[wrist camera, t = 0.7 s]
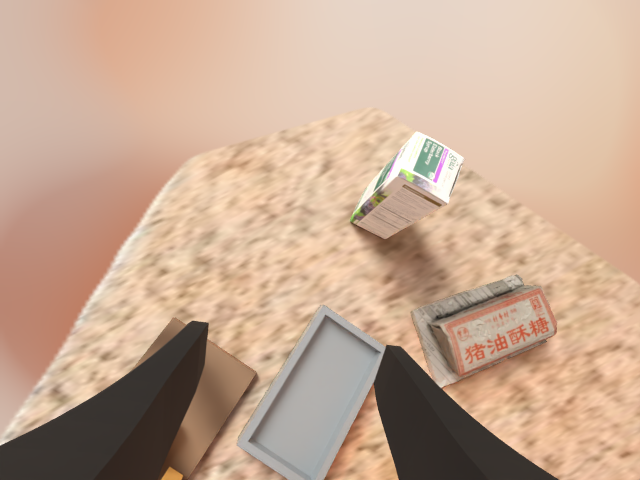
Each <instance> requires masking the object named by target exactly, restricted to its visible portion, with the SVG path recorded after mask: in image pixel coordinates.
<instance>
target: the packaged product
mask: <svg viewBox="0 0 640 480" xmlns="http://www.w3.org/2000/svg"><path fill="white" fill-rule="evenodd" d="M411 316H412V319H413V322H414V325H415V328H416V331H417V334H418V337H419V340H420V343H421V346H422V349H423V353H424V356H425V359H426V362H427V365H428V368H429V371H430V373H431V376H432V378H433V380H434V382H435V383H436V384H437V385H438V386H439V387H440V388H442V387H444V386H447V385H449V384H453V383H455V382H457V381H459V380H461V379H463V378H465V377H467V376H470V375H472V374H475V373H477V372H479V371H482V370H484V369H486V368H488V367H491V366H493V365H496V364H498V363H500V362H502V361H503V360H505V359H506V358H508V359H509V358H511V357H513V356H516V355H518V354H520V353H522V352H524V351H527V350H529V349H532V348H534V347H536V346H538V345H541V344H543V343H545V342H547V341H546V339H547V338H550V337H552V336H554V335H555V334H556V333H557V327H556V325H557V321H556V319H555V318H554V315H553V313H552V311H551V309H550V306H549V303H548V300H547V298H546V296H545V294H544V292H543V289H542V288H541V286H536V285H535V286H528V285H526V286H524V284H523V281H522V278H521V277H520V276H518V275H513V276H509V277H507V278H505V279H502V280H500V281H497V282H493V283H490V284H487V285H483V286H480V287H477V288H474V289H471V290H468V291H465V292H461V293H458V294H455V295H452V296H450V297H447V298H444V299H441V300H438V301H435V302H432V303H430V304H427V305H424V306H421V307H419V308H417V309H415V310H413V311H411Z"/></svg>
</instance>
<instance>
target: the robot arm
mask: <svg viewBox="0 0 640 480" xmlns="http://www.w3.org/2000/svg"><path fill="white" fill-rule="evenodd" d="M208 325H209V323H206V322H198V321H191V322H190V323H188V324H187V325H186V326H185V327H184V328H183V329H182V330H181V331H180V332H179V333H178V334H176V335H175V336H174V337H173V338H172V339H171V340H170V341H168V342H167V343H166V344H165V345H164V346H163V347H161V348H160V349H159V350H158V351H157V352H155V353H154V354H153V355H152V356H150V357H149V358H148V359H147V360H145V361H144V362H143V363H141V364H140V365H139V366H137V367H136V368H135V369H133V370H132V371H131V372H129V373H128V374H127V375H125V376H124V377H122V378H121V379H120V380H118V381H117V382H115V383H114V384H112V385H111V386H109V387H108V388H106V389H105V390H103V391H101V392H100V393H98V394H97V395H95V396H94V397H92V398H90V399H89V400H87V401H85V402H83V403H82V404H80V405H78V406H77V407H75V408H73V409H71V410H69V411H68V412H66V413H64V414H62V415H61V416H59V417H57V418H55V419H53V420H51V421H49V422H48V423H46V424H44V425H42V426H40V427H38V428H36V429H34V430H32V431H30V432H28V433H26V434H24V435H22V436H20V437H17V438H15V439H13V440H11V441H9V442H7V443H5V444H3V445H1V446H0V480H158V477H159V475H160V472H161V469H162V467H163V464H164V462H165V459H166V457H167V454H168V452H169V450H170V448H171V446H172V443H173V441H174V439H175V437H176V435H177V432H178V430H179V428H180V426H181V424H182V421H183V419H184V417H185V415H186V413H187V410H188V408H189V406H190V404H191V402H192V399H193V397H194V395H195V393H196V390H197V387H198V384H199V381H200V378H201V375H202V372H203V369H204V365H205V356H206V346H207V335H208ZM374 388H375V395H376V400H377V406H378V410H379V414H380V417H381V420H382V424H383V427H384V431H385V434H386V437H387V440H388V444H389V447H390V450H391V454H392V457H393V460H394V463H395V467H396V470H397V474H398V478H399V480H558V479H557V478H555V477H554V476H552V475H551V474H549V473H547V472H546V471H544V470H543V469H541V468H540V467H538V466H537V465H535V464H534V463H532V462H531V461H529V460H528V459H526V458H525V457H523V456H522V455H521V454H519V453H518V452H516V451H515V450H514V449H512V448H511V447H510V446H508V445H507V444H505V443H504V442H503V441H501V440H500V439H499V438H497V437H496V436H495V435H494V434H492V433H491V432H490V431H488V430H487V429H486V428H485V427H484V426H482V425H481V424H480V423H479V422H478V421H476V420H475V419H474V418H473V417H471V416H470V415H469V414H468V413H467V412H466V411H465V410H464V409H462V408H461V407H460V406H459V405H458V404H457V403H456V402H455V401H454V400H453V399H452V398H451V397H450V396H448V395H447V394H446V393H445V392H444V391H443V390H442V389H441V388H440V387H439V386H438V385H437V384H436V383H435V382H434V381H433V380H432V379H431V378H430V377H429V375H428V374H427V373H426V372H425V371H424V370H423V369H422V368H421V367H420V366H419V365H418V364H417V363H416V362H415V361H414V360H413V359H412V358H411V357H410V356H409V355H408V354H407V352H406V351H405V350H403V349H402V348H401V347H399V346H391V345H386V348H385V351H384V354H383V357H382V360H381V363H380V366H379V369H378V371H377V374H376V377H375V380H374Z"/></svg>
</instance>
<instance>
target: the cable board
mask: <svg viewBox="0 0 640 480" xmlns="http://www.w3.org/2000/svg"><path fill="white" fill-rule="evenodd" d="M185 326H186V324H184V323H183V322H181V321H180V320H178V319H177V318H173V319H172V320H171V321H170V322H169V324H168V325H167V326H166V327H165V329H164V330H163V331H162V333H161V334H160V335H159V336H158V338H157V339H156V340H155V341H154V343H153V344H152V345H151V346H150V348H149V349H148V350H147V352H146V353H145V354H144V355H143V357H142V358H141V359H140V360H139V362H138V363H137V364H136V366H135V367H134V368H133V369H135V368H136V367H137V366H139V365H140V364H141V363H143V362H144V361H145V360H147V359H148V358H149V357H150V356H152V355H153V354H154V353H155V352H157V351H158V350H159V349H160V348H161V347H163V346H164V345H165V344H166V343H167V342H168V341H170V340H171V339H172V338H173V337H174V336H175V335H176V334H178V333H179V332H180V331H181V330H182V329H183V328H184V327H185ZM133 369H132V370H133ZM255 374H256V371H254V370H253V369H251V368H250V367H248V366H247V365H245V364H244V363H242V362H241V361H239V360H238V359H236V358H235V357H233V356H232V355H230V354H229V353H227V352H226V351H224V350H223V349H221V348H220V347H218V346H217V345H215V344H214V343H212V342H211V341H209V340H208V339H207V346H206V356H205V365H204V369H203V372H202V375H201V378H200V381H199V384H198V387H197V390H196V393H195V395H194V397H193V399H192V402H191V404H190V406H189V408H188V410H187V413H186V415H185V417H184V419H183V421H182V424H181V426H180V428H179V430H178V432H177V435H176V437H175V439H174V441H173V443H172V446H171V448H170V450H169V452H168V454H167V457H166V459H165V462H164V464H163V467H162V469H161V472H160V475H159V477H158V480H161V479H162V477H163V476H164V474H165V473H166V471H167V470H168V468H169V467H171V468H173V469H174V470H176V471H177V472H179V473H180V474H182V475H183V477H182V479H181V480H188V478H189V476H190V475H191V473H192V472H193V470H194V469H195V467H196V466H197V464H198V463H199V461H200V459H201V458H202V456H203V455H204V453H205V452H206V450H207V449H208V447H209V446H210V444H211V442H212V441H213V439H214V438H215V436H216V435H217V433H218V432H219V430H220V429H221V427H222V425H223V424H224V422H225V421H226V419H227V418H228V416H229V415H230V413H231V412H232V410H233V408H234V407H235V405H236V404H237V402H238V401H239V399H240V398H241V396H242V395H243V393H244V391H245V390H246V388H247V387H248V385H249V384H250V382H251V381H252V379H253V378H254V376H255Z"/></svg>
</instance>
